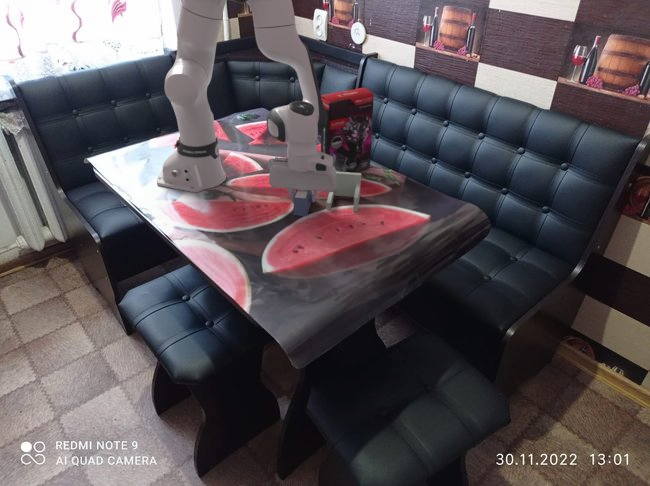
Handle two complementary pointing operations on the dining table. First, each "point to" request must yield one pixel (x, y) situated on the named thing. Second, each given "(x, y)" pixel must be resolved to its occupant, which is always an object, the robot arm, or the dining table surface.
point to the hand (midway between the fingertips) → (303, 200)
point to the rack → (346, 188)
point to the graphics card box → (348, 129)
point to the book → (301, 202)
